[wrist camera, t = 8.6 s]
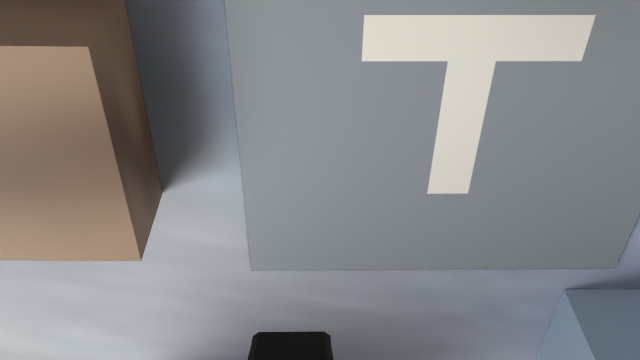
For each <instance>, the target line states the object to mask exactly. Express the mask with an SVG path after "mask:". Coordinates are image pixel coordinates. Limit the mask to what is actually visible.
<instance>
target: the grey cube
mask: <svg viewBox="0 0 640 360" xmlns="http://www.w3.org/2000/svg"><path fill="white" fill-rule="evenodd" d="M536 360H640V289H564V291H563V293H562V296H561V298H560V301H559V303H558V306H557V308H556V311H555V313H554V316H553V318H552V320H551V323H550V325H549V328H548V330H547V333H546V335H545V338H544V340H543V343H542V345H541V347H540V350H539V352H538V355H537V357H536Z"/></svg>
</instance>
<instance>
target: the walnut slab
mask: <svg viewBox="0 0 640 360" xmlns="http://www.w3.org/2000/svg"><path fill="white" fill-rule="evenodd" d="M161 196H162V188H161V183H160V178H159V173H158V168H157V162H156V157H155V152H154V147H153V142H152V137H151V132H150V127H149V122H148V117H147V112H146V106H145V101H144V96H143V91H142V86H141V81H140V76H139V71H138V66H137V61H136V56H135V50H134V45H133V40H132V35H131V30H130V25H129V20H128V15H127V10H126V5H125V0H0V260H49V261H141V260H142V256H143V253H144V250H145V247H146V244H147V240H148V237H149V234H150V231H151V228H152V225H153V221H154V218H155V215H156V212H157V209H158V205H159V202H160V199H161Z"/></svg>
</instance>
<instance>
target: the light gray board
mask: <svg viewBox="0 0 640 360" xmlns="http://www.w3.org/2000/svg"><path fill="white" fill-rule="evenodd" d="M224 6H225V16H226V26H227V35H228V45H229V55H230V65H231V75H232V85H233V95H234V105H235V115H236V125H237V135H238V145H239V155H240V165H241V175H242V185H243V195H244V205H245V215H246V225H247V235H248V245H249V255H250V265H251V271H272V270H442V269H611V268H615V267H616V265H617V263H618V261H619V258H620V256H621V254H622V252H623V250H624V248H625V245H626V243H627V241H628V239H629V237H630V235H631V233H632V230H633V228H634V226H635V224H636V222H637V220H638V217H639V215H640V0H224Z"/></svg>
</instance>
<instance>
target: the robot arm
mask: <svg viewBox="0 0 640 360" xmlns="http://www.w3.org/2000/svg"><path fill="white" fill-rule="evenodd" d="M248 360H333V355H332V349H331V340H330V335H328V334H327V333H326V332H258V333H257V334H256V335H254V336H253V339H252V344H251V349H250V353H249V356H248Z"/></svg>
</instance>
